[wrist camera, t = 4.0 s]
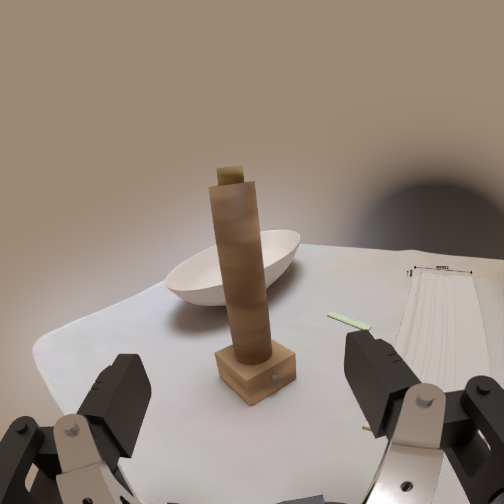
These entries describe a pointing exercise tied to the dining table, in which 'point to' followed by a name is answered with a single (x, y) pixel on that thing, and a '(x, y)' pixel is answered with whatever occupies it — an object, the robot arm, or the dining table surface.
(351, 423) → the dining table surface
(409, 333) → the baseboard molding
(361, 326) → the tape mark
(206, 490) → the dining table surface
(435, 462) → the robot arm
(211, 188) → the brown peg on stand
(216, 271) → the bowl
